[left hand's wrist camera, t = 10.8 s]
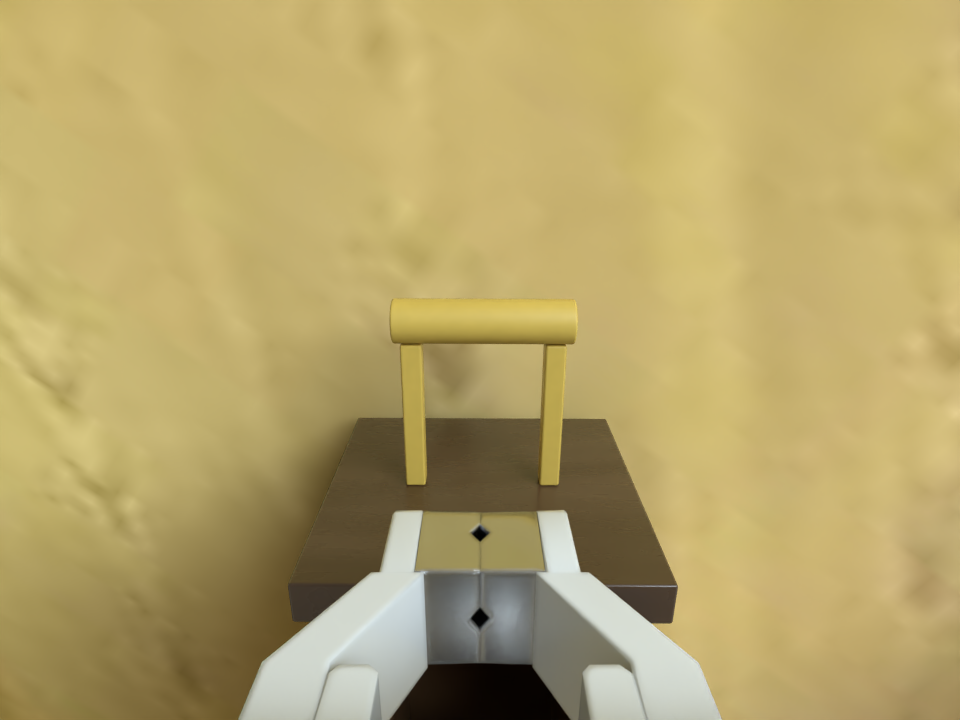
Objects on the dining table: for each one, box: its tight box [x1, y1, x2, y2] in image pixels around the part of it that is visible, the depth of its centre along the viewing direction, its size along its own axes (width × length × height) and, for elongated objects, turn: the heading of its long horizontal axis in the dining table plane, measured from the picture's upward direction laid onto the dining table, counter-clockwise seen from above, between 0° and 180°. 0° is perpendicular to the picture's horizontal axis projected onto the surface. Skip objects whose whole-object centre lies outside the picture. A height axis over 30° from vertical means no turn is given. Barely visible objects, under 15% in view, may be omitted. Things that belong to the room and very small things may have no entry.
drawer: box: [288, 298, 678, 720], centre depth 21 cm, size 24×9×9 cm, turn 0°
